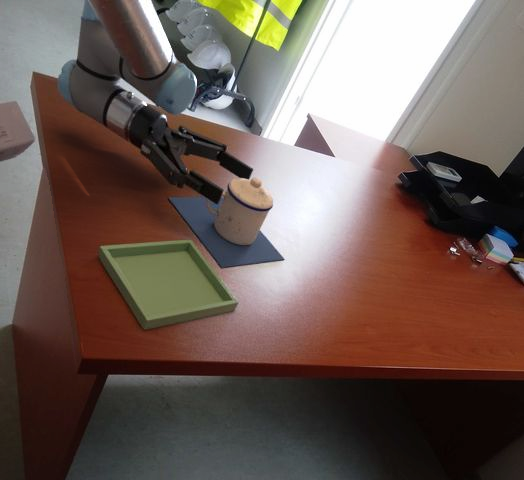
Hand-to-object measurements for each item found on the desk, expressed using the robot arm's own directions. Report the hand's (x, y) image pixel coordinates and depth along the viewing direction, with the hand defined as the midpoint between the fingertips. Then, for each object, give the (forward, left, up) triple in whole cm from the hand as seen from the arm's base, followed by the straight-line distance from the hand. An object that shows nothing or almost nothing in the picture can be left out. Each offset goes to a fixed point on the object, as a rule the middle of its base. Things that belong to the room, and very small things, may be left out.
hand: (236, 186), depth 84 cm
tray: (+13, -19, -9) cm, 25 cm away
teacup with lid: (+2, +1, -9) cm, 9 cm away
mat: (+1, +1, -9) cm, 9 cm away
